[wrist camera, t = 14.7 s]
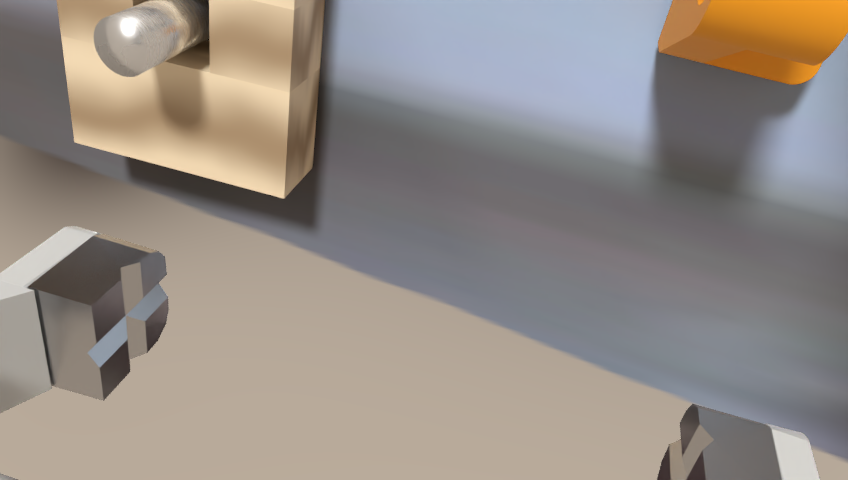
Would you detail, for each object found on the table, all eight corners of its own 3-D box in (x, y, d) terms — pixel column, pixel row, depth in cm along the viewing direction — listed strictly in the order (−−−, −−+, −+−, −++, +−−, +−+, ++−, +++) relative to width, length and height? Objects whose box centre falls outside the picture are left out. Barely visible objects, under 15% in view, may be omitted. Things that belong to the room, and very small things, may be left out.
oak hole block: (91, -191, 39) (32, -192, 35) (335, -142, 37) (301, -137, 33) (118, 116, 48) (74, 142, 45) (312, 167, 46) (284, 198, 43)
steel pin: (188, -26, 42) (90, 9, 34) (235, -15, 42) (147, 23, 34) (189, 25, 44) (96, 69, 36) (235, 36, 43) (150, 83, 36)
